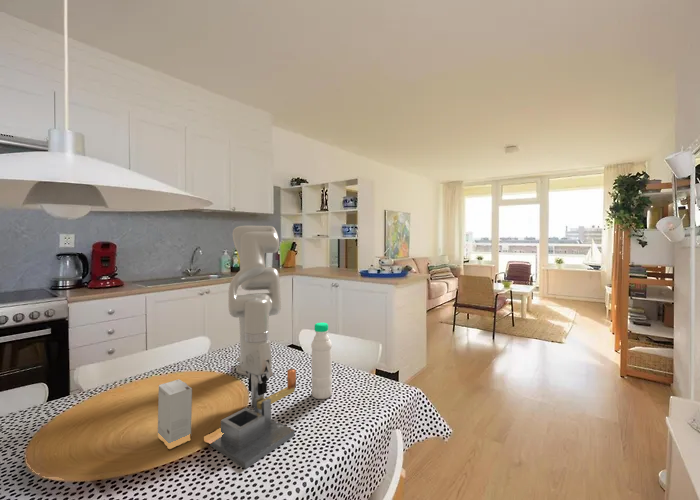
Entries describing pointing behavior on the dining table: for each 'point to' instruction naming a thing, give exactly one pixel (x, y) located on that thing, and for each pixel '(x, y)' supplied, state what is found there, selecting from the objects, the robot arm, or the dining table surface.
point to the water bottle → (321, 363)
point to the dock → (251, 434)
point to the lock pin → (283, 393)
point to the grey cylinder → (254, 387)
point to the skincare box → (174, 410)
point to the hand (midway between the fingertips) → (257, 391)
